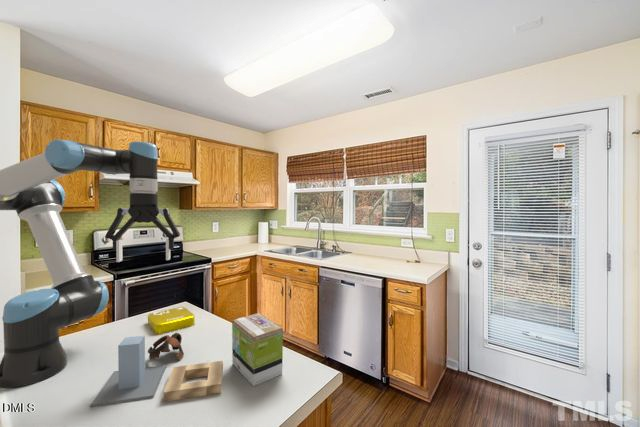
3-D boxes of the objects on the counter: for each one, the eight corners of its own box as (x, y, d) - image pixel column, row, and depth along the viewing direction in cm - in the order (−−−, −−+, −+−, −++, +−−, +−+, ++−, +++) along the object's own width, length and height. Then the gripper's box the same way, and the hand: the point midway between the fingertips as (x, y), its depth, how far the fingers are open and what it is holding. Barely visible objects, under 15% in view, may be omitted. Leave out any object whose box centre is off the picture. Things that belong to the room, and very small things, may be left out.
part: (118, 389, 79) (118, 345, 79) (125, 378, 84) (124, 337, 84) (139, 386, 81) (139, 343, 80) (145, 376, 86) (144, 335, 85)
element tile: (155, 336, 113) (155, 324, 113) (146, 324, 124) (146, 312, 124) (196, 326, 123) (196, 314, 123) (184, 315, 134) (184, 304, 134)
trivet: (90, 407, 73) (90, 404, 73) (114, 373, 88) (114, 371, 88) (153, 397, 77) (153, 395, 77) (166, 366, 92) (166, 364, 92)
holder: (163, 401, 76) (163, 392, 76) (173, 375, 87) (173, 367, 87) (221, 392, 80) (221, 383, 80) (222, 368, 91) (222, 360, 91)
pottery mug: (178, 367, 92) (163, 347, 90) (153, 377, 94) (138, 358, 92) (194, 340, 104) (181, 322, 102) (172, 350, 105) (158, 332, 103)
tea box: (230, 364, 94) (231, 318, 93) (259, 354, 100) (259, 311, 99) (253, 388, 82) (253, 335, 82) (283, 374, 89) (284, 326, 88)
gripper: (91, 191, 85) (92, 264, 86) (185, 193, 92) (185, 261, 93) (102, 192, 92) (103, 259, 93) (189, 194, 99) (189, 256, 100)
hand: (144, 260), depth 93 cm, fingers open, 13 cm apart
